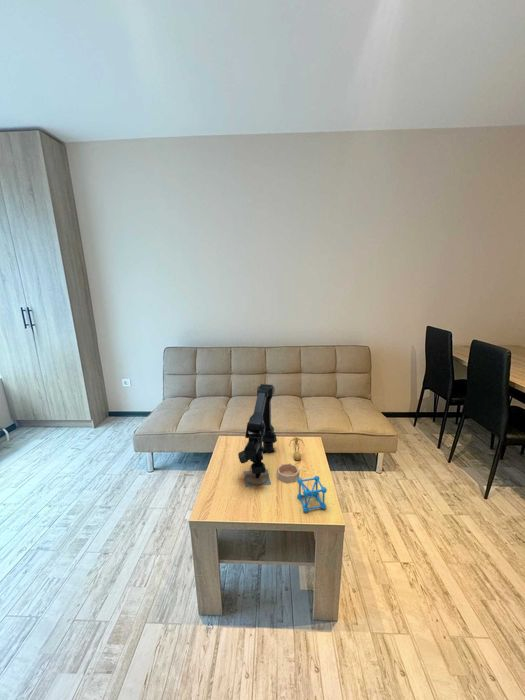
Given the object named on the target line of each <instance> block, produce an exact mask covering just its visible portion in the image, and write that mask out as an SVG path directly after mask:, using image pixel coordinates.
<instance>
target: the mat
mask: <svg viewBox="0 0 525 700" xmlns="http://www.w3.org/2000/svg"><path fill="white" fill-rule="evenodd" d="M249 471H250V470H245V471H243V477H244V485H245V488H251V487H252V488H253V487H262V486H272V481H271V478H270V474H269V473H270V472H269V470H268V468H266V472H267V473H268V481H267V482H266V483H264V484H262V485H252V484H249V483H248V482H247V481H246V474H247V472H249Z"/></svg>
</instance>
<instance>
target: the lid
mask: <svg viewBox="0 0 525 700" xmlns="http://www.w3.org/2000/svg"><path fill="white" fill-rule="evenodd" d="M248 471H249V472H247V474H246V481H247V482H248V483H249V484H252V485H262V484H264V483H266V482H267V481H268V473H269V472H268V473H267V472H265V473H261V474H260V476H259V478H256V475H255V474H253V473H252V471H251V470H248Z"/></svg>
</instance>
